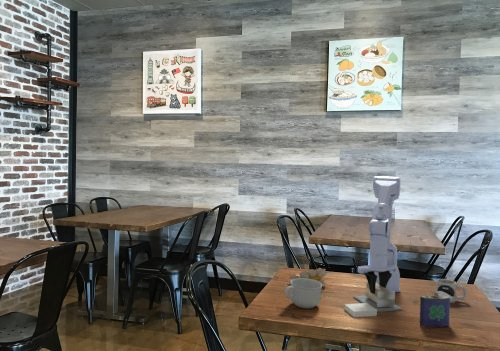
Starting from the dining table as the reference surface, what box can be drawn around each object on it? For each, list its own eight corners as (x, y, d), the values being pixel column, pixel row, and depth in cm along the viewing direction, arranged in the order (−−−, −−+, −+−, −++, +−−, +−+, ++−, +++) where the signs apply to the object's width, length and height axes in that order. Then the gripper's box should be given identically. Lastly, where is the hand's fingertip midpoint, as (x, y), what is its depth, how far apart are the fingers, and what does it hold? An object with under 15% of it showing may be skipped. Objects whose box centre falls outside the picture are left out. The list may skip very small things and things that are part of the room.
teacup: (311, 299, 152) (312, 276, 152) (327, 309, 142) (328, 285, 142) (276, 302, 147) (276, 280, 147) (290, 313, 137) (290, 289, 137)
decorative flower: (319, 274, 178) (321, 253, 175) (333, 288, 168) (335, 266, 165) (287, 280, 173) (288, 257, 170) (299, 294, 163) (300, 271, 160)
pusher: (377, 295, 154) (377, 281, 154) (394, 306, 143) (395, 291, 143) (362, 296, 153) (362, 282, 152) (378, 307, 142) (379, 292, 142)
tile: (366, 302, 144) (377, 310, 137) (366, 309, 144) (376, 316, 137) (344, 304, 142) (354, 311, 135) (344, 310, 142) (354, 318, 135)
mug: (435, 300, 153) (436, 282, 153) (435, 295, 159) (436, 278, 159) (466, 305, 149) (467, 286, 149) (465, 300, 155) (466, 282, 155)
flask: (446, 323, 131) (447, 289, 131) (451, 327, 128) (453, 292, 128) (417, 324, 130) (419, 289, 130) (422, 328, 127) (423, 292, 127)
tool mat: (378, 296, 157) (378, 294, 157) (401, 310, 142) (402, 308, 142) (353, 297, 155) (353, 295, 155) (375, 312, 140) (375, 310, 140)
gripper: (365, 257, 142) (364, 297, 143) (403, 255, 146) (402, 295, 146) (355, 252, 149) (354, 291, 150) (392, 251, 153) (390, 288, 153)
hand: (377, 292), depth 148 cm, fingers closed on pusher, 3 cm apart
